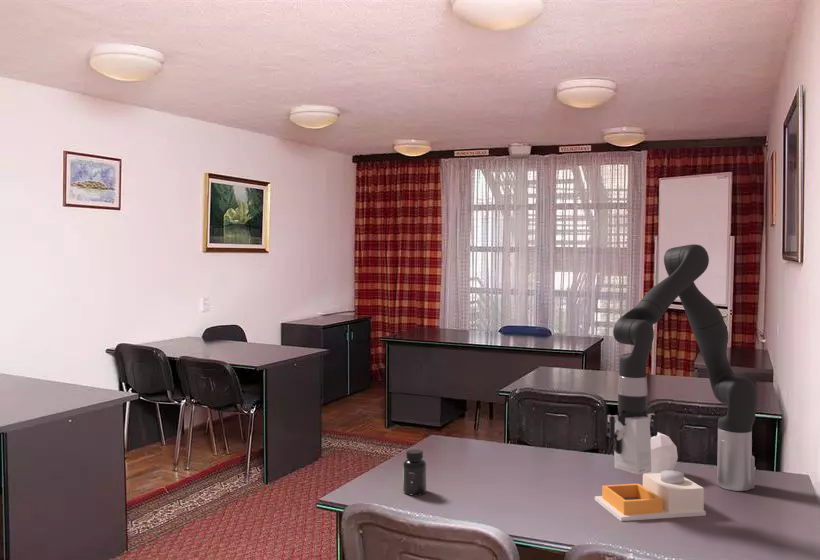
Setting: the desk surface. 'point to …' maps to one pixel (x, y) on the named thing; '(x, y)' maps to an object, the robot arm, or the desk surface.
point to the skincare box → (635, 446)
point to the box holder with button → (654, 498)
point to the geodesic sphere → (662, 454)
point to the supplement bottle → (414, 473)
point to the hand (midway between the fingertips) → (631, 452)
